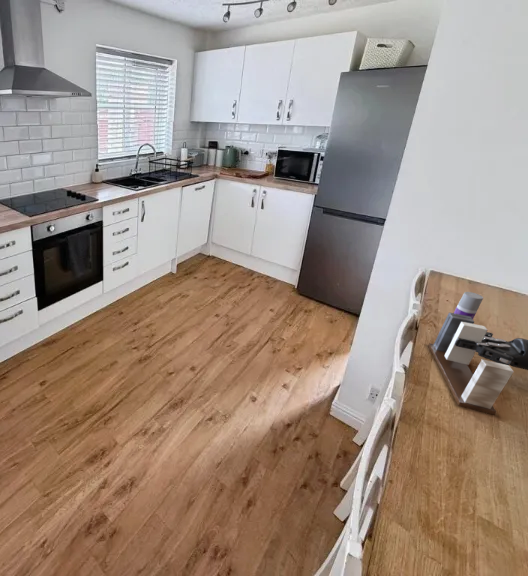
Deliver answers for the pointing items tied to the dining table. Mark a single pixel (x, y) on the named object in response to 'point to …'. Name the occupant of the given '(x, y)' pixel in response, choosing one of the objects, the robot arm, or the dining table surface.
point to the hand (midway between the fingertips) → (454, 339)
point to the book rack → (469, 371)
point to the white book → (468, 333)
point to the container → (469, 304)
